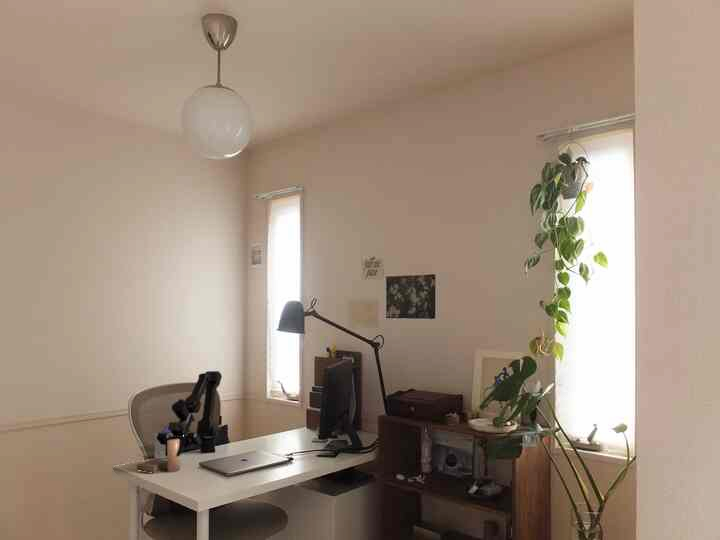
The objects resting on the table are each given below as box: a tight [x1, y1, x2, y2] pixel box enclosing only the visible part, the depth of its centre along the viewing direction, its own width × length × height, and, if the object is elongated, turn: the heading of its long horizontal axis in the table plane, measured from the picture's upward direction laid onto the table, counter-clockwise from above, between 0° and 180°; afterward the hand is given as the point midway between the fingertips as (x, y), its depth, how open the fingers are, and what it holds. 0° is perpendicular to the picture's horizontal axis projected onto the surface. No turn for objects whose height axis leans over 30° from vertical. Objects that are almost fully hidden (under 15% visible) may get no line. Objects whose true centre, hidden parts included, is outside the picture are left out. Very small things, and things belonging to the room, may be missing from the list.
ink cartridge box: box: [154, 425, 173, 459], centre depth 266 cm, size 10×6×14 cm, turn 79°
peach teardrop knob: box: [166, 439, 181, 473], centre depth 242 cm, size 5×5×13 cm
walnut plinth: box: [136, 458, 168, 474], centre depth 244 cm, size 10×10×3 cm
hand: (171, 455), depth 241 cm, fingers closed on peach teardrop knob, 5 cm apart
